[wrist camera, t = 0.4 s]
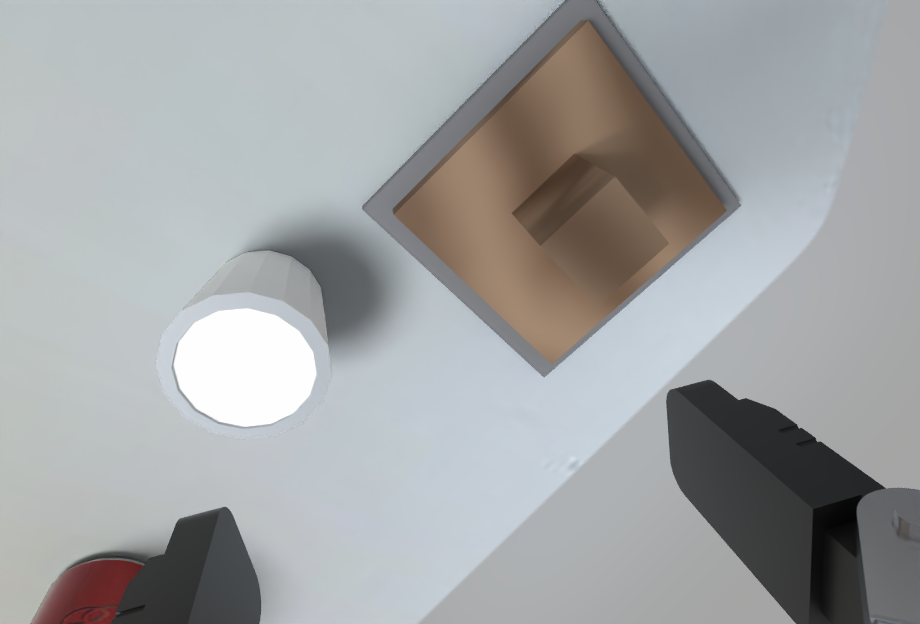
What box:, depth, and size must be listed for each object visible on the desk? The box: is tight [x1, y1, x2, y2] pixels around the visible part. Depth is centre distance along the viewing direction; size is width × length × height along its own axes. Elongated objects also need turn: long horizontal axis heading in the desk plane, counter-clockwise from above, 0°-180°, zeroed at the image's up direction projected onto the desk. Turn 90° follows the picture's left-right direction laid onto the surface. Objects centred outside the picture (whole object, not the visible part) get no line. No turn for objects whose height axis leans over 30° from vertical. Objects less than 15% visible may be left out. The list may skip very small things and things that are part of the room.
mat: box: [362, 0, 741, 377], centre depth 31 cm, size 14×14×1 cm
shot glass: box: [155, 250, 332, 439], centre depth 28 cm, size 7×7×7 cm
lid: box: [392, 21, 727, 364], centre depth 28 cm, size 12×12×6 cm
